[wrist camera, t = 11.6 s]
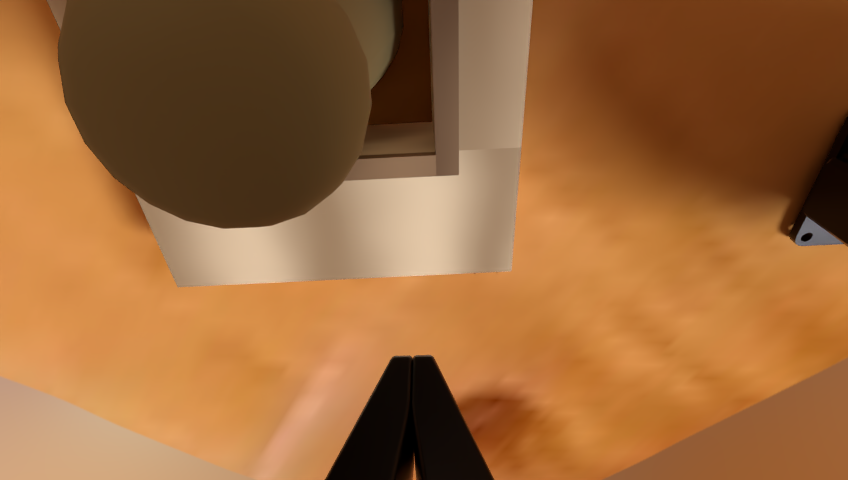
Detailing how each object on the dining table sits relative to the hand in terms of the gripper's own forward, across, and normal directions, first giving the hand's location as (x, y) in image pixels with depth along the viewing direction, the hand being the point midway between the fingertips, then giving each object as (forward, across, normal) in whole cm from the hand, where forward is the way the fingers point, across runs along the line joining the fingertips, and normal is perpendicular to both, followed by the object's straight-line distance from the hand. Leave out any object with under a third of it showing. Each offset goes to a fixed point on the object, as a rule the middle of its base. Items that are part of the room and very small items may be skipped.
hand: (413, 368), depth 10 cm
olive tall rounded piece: (+12, +3, -5) cm, 13 cm away
